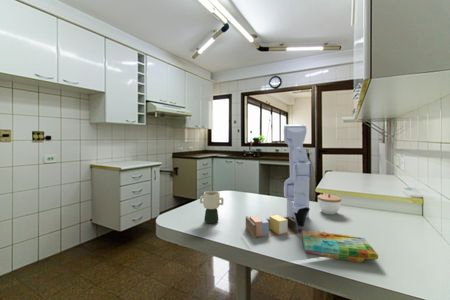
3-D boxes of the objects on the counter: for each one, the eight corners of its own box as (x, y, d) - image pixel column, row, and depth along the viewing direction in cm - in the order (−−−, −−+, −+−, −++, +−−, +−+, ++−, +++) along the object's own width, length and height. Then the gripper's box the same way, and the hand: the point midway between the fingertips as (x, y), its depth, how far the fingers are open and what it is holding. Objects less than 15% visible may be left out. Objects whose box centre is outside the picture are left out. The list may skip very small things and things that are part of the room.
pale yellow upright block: (277, 226, 89) (277, 214, 89) (287, 232, 83) (287, 219, 83) (269, 228, 87) (269, 216, 87) (279, 234, 82) (279, 221, 81)
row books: (262, 228, 87) (262, 215, 86) (268, 235, 81) (269, 220, 81) (249, 230, 86) (249, 216, 85) (255, 236, 80) (255, 222, 79)
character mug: (225, 220, 98) (225, 191, 97) (221, 226, 91) (221, 195, 90) (202, 217, 101) (202, 190, 100) (196, 223, 94) (196, 193, 93)
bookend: (294, 225, 90) (295, 216, 90) (303, 232, 84) (304, 221, 84) (287, 226, 89) (287, 216, 89) (295, 232, 83) (295, 222, 83)
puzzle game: (301, 228, 79) (364, 234, 74) (301, 240, 79) (363, 248, 74) (304, 242, 68) (378, 252, 62) (304, 257, 68) (377, 267, 63)
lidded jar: (312, 210, 113) (313, 192, 112) (329, 208, 116) (329, 190, 116) (328, 217, 103) (328, 197, 102) (345, 214, 106) (346, 195, 106)
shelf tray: (292, 225, 92) (292, 212, 92) (305, 234, 83) (305, 220, 83) (245, 230, 87) (245, 216, 87) (253, 240, 79) (253, 225, 78)
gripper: (298, 187, 95) (297, 218, 95) (284, 194, 83) (283, 228, 84) (314, 190, 90) (314, 222, 91) (302, 197, 79) (301, 233, 80)
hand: (300, 225), depth 87 cm, fingers closed
